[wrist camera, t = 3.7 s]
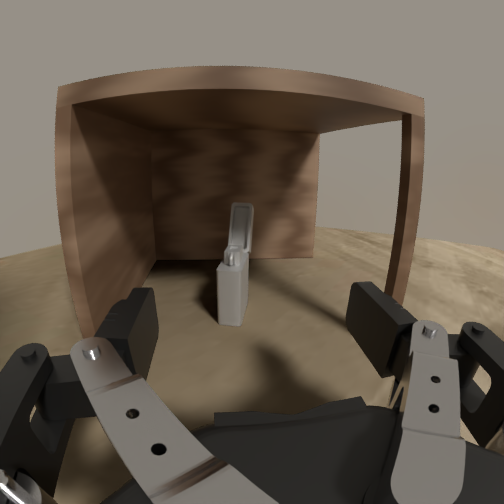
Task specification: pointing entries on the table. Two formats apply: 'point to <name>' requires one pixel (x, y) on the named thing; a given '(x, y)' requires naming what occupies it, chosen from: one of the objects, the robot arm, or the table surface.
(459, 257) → the table surface
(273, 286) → the table surface
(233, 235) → the lighter
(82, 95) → the open side box
